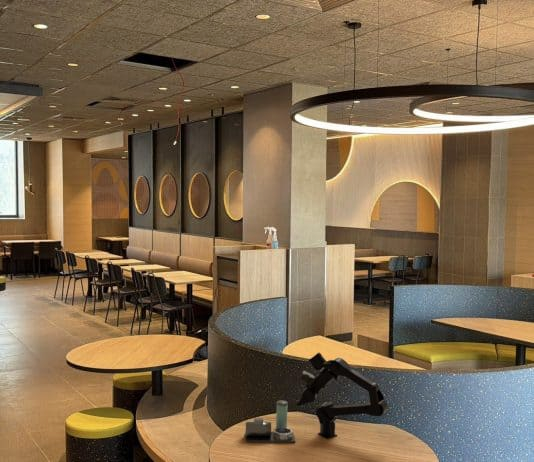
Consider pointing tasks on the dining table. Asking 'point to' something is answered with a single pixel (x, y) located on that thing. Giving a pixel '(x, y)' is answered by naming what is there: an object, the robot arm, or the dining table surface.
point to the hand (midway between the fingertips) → (298, 401)
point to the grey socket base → (267, 433)
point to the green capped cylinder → (281, 413)
